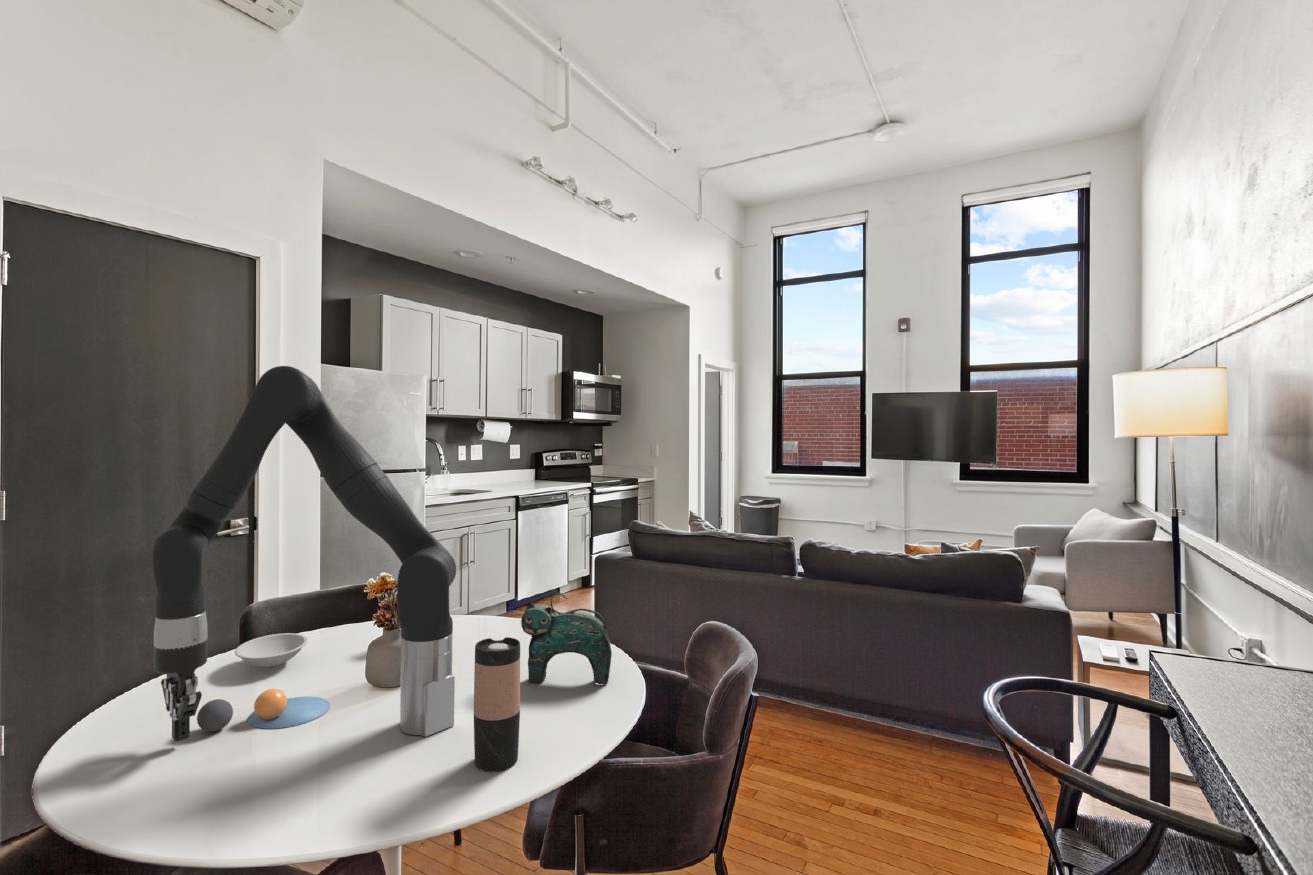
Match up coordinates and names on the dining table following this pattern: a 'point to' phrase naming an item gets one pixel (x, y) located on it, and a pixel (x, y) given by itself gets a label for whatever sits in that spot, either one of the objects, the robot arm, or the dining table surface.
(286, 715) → the blue mark
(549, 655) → the ceramic cat
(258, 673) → the dining table surface
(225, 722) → the gray ball
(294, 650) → the dish
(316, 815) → the dining table surface
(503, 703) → the travel mug
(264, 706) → the orange ball
